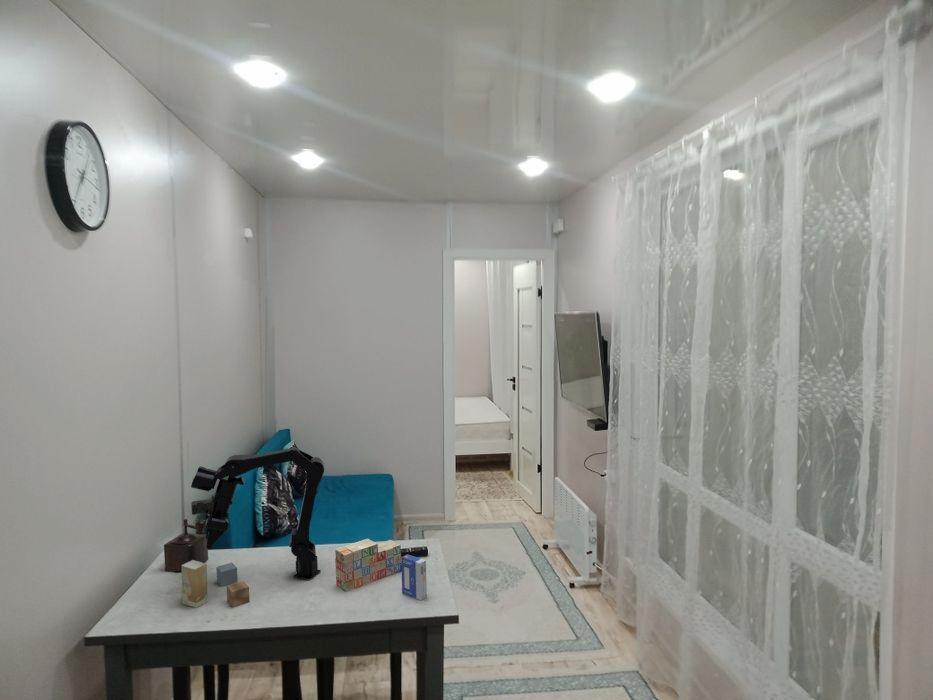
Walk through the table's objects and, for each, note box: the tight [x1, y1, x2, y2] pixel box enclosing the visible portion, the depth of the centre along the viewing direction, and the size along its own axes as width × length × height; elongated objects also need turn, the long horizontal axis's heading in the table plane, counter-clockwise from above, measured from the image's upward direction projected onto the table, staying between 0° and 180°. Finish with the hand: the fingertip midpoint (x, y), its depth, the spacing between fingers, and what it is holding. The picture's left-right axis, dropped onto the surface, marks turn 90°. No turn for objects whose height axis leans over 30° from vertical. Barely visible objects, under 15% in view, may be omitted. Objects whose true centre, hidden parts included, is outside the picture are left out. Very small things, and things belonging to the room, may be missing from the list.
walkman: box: [401, 553, 428, 601], centre depth 176 cm, size 8×3×12 cm, turn 54°
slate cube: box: [216, 562, 239, 588], centre depth 187 cm, size 5×5×5 cm
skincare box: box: [181, 560, 208, 609], centre depth 173 cm, size 6×4×12 cm
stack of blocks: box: [334, 538, 402, 592], centre depth 188 cm, size 21×6×12 cm, turn 131°
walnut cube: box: [226, 580, 250, 609], centre depth 174 cm, size 5×5×5 cm
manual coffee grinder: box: [163, 518, 209, 573], centre depth 198 cm, size 16×11×18 cm
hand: (207, 543), depth 180 cm, fingers open, 9 cm apart
